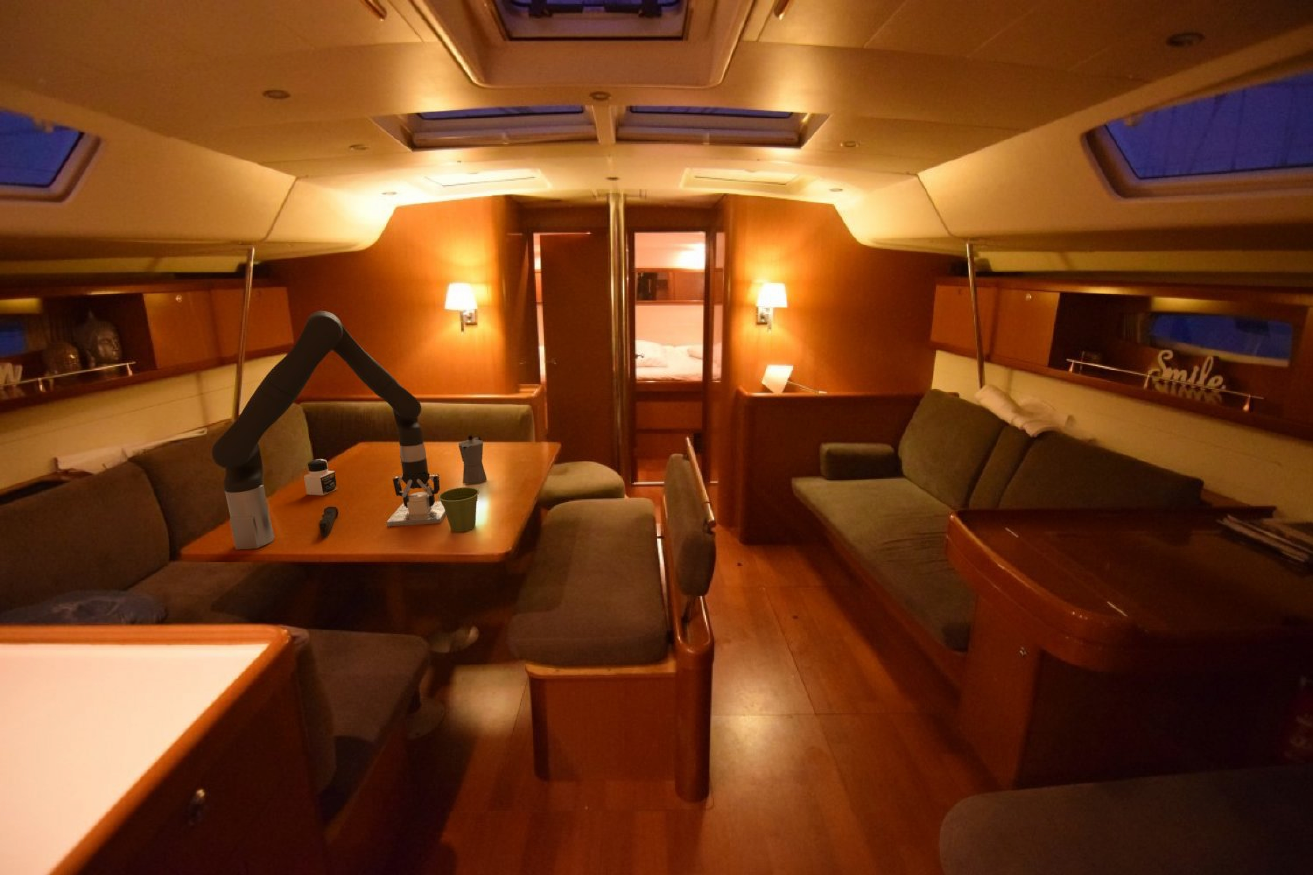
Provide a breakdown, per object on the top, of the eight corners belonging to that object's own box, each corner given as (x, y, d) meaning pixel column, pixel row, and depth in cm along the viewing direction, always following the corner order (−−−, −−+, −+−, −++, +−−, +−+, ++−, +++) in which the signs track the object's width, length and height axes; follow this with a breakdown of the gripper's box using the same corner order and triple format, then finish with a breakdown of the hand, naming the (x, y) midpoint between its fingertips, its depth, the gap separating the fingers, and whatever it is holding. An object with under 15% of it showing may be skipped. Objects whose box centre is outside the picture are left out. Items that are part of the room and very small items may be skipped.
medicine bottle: (323, 495, 212) (318, 463, 209) (306, 494, 214) (300, 463, 210) (337, 489, 219) (332, 458, 216) (321, 488, 220) (315, 457, 217)
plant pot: (448, 521, 186) (444, 487, 184) (486, 519, 187) (483, 486, 184) (437, 537, 175) (433, 501, 172) (478, 535, 176) (474, 499, 173)
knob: (431, 506, 195) (429, 491, 193) (427, 513, 189) (424, 498, 188) (413, 507, 194) (411, 492, 193) (408, 514, 189) (406, 499, 187)
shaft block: (440, 523, 185) (438, 508, 184) (387, 526, 184) (385, 511, 182) (452, 504, 201) (450, 491, 199) (403, 507, 199) (401, 493, 198)
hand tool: (325, 518, 192) (323, 504, 191) (339, 516, 193) (336, 503, 192) (313, 541, 175) (310, 527, 174) (328, 539, 176) (325, 524, 175)
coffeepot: (480, 486, 218) (475, 439, 214) (455, 486, 219) (450, 439, 214) (495, 473, 233) (490, 429, 228) (472, 473, 234) (467, 429, 229)
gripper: (439, 453, 191) (445, 501, 196) (393, 455, 190) (400, 503, 194) (433, 459, 184) (439, 509, 188) (386, 462, 183) (393, 512, 187)
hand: (419, 506), depth 191 cm, fingers open, 6 cm apart
